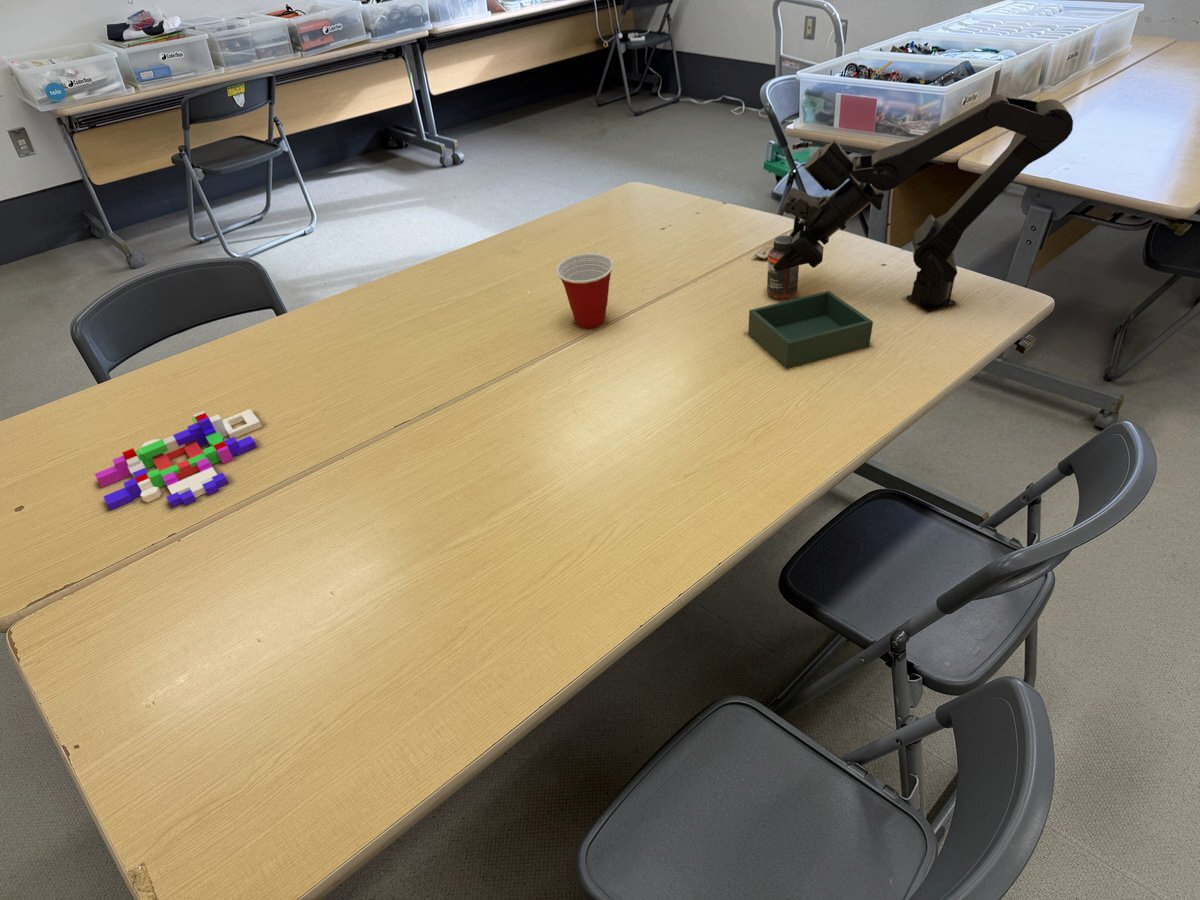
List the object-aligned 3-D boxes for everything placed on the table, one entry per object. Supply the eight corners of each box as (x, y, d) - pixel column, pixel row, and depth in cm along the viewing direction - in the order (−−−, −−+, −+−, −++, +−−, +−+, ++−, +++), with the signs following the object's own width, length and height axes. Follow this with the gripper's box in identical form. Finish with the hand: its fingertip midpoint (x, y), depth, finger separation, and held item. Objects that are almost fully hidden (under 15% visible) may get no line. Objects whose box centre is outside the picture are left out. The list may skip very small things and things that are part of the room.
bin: (826, 314, 149) (829, 290, 146) (869, 346, 138) (873, 321, 135) (748, 334, 145) (749, 310, 142) (786, 369, 134) (788, 343, 131)
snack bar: (769, 240, 176) (782, 237, 174) (771, 246, 177) (783, 244, 175) (752, 255, 170) (765, 253, 168) (754, 262, 170) (767, 259, 168)
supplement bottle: (800, 288, 157) (804, 234, 150) (793, 301, 153) (796, 246, 146) (770, 285, 159) (773, 231, 153) (762, 298, 155) (765, 243, 148)
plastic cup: (553, 332, 151) (546, 274, 144) (575, 306, 159) (569, 250, 152) (605, 339, 147) (600, 280, 140) (625, 312, 155) (622, 255, 148)
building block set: (120, 534, 112) (106, 510, 110) (92, 468, 126) (79, 446, 123) (288, 459, 124) (279, 437, 121) (246, 407, 137) (237, 385, 135)
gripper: (814, 159, 148) (753, 215, 158) (808, 194, 134) (741, 253, 144) (853, 200, 151) (790, 253, 160) (851, 239, 137) (783, 294, 146)
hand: (776, 262), depth 153 cm, fingers closed on supplement bottle, 6 cm apart
